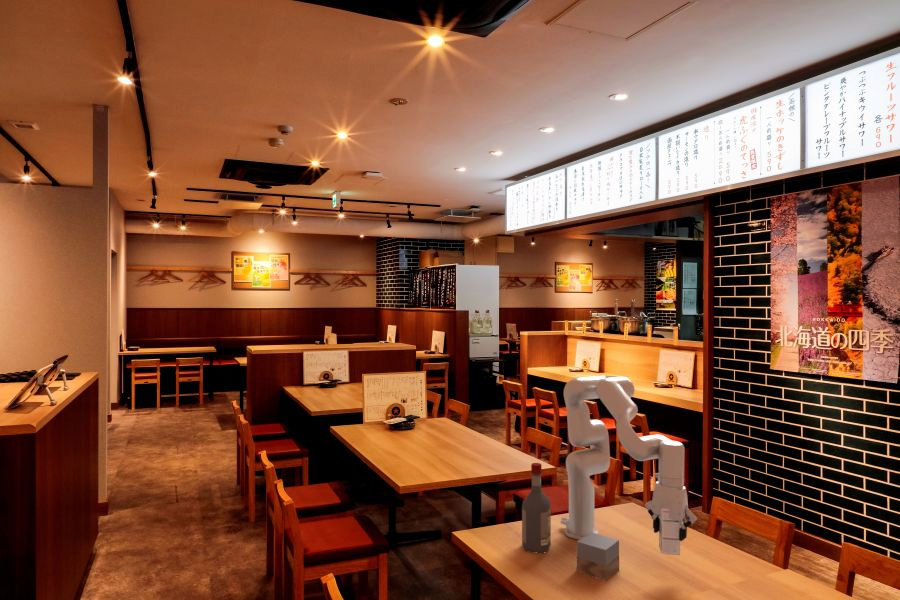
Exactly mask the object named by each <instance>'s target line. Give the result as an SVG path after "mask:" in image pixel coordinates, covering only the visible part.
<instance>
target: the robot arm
mask: <svg viewBox="0 0 900 600" xmlns="http://www.w3.org/2000/svg"><path fill="white" fill-rule="evenodd" d="M634 394H635V386H634V383H633V382H632V380H630V379H629V378H628V377H626V376H620V375H619V376H618V375H617V376H615V375H591V376H579V377H575V378H572V379H570V380H568V382H566V384H565V386H564V388H563V398H564V403H565V407H566V415H567V416H566V418H567V419H566V420H567V434H568V435H567V436H568V441H569V443H570V444H571V446H573V447H576V448H582V447H590V448H586V449H579V450H575V451H572V452H570V453H569V454H568V455H567V457H566V458H565V467H566V471H567V480H568V481H567V482H568V517H565V516H562V517H561V519H560V520H561V521H560V524H561V525H565V528H564V534H565V535H566V536H567V537H569V538H570V539H573V540H577V541H579V540H580V539H582V538H583V537H585V536H586V535H588V534H589V533H591V532H592V533H595V534H599V533H600V532H599V530H598V529H597V528H595V486H594V484H593V482H592V480H591V478H590V477H591V476H593V475H597V474H603V473H605V472H606V471H608V470H609V468H610V464H611V455H610V454H611V453H610V439H609V437H610V436H609V431H608V428H607V425H606V423H604V422H603V421H602V420H599V419H595V418H594V419H591V415H590V407H589V406H588V404H587V403H586V401H587V400H595V399H596V400H597V399H600V401H601V403H602V404H603V405H604V406H605V407H606V409H607V410H608V412H609V413H610V414H611V415H612V417H613V418H614V419H615V420H616V435H617V438H618V440H619V442H620V444H621V445H622V447H623V448H624V449H625V451H626V453H628V455H629V456H630V457H631V458H633V459H634V460H636V461H638V462H644V461H650V460H655V459H656V460H657V459H658V472H657V473H656V472H655V473H654V478H656V479H657V481H656V482H655V484H654V488H653V493H652V500H650V501H647V502H646V503H645V504H644V507H645V509H646V510H647V512H648V514H649V515H650V517H651V519H652V529H653V533H655V534H656V533H659V516H661V508H668V510H670V511H669V518H670V519H673V520H676V521H679V524H680V529H679V540H680V542H682V541H684V540H685V539H687V536H688V534H687V533H688V528H689V527H690V526H691V525H692V524H693V523H694V522H696V521H697V520H698V517H697V516H696V515H695V514H694V513H693V512H692V511H691V510H690V509H689V504H688V493H687V492H688V491H687V488H686V486H684V485H685V484H684V483H685V450H686V449H685V446H684V444H683V443H682V442H680V441H677V440H672V439H670V438H668V437H666V436H664V435H662V434H651V435H643V436H639V435H638V434H637V433H636V432H635V430H634V429H633V427H632V425H631V422H632V420H634V418H635V417H636V416H637V414H638V411H639V410H638V406H637V404H636V403H635V402H634V401H633V400H632V399H631V398H632V397H633V396H634ZM688 517H689V519H686V518H688ZM599 535H600V534H599Z"/></svg>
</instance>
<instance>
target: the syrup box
mask: <svg viewBox="0 0 900 600" xmlns="http://www.w3.org/2000/svg"><path fill="white" fill-rule="evenodd" d="M669 511H670V510H668V508H661V516H659V531H658V533H659V534H658V547H659V550H660V553H661V554H664V555H669V556H670V555H671V556H680V555H681V541H680V540H679V529H680V528H681V526H680V524H679V521H676V520H673V519H670V518H669Z"/></svg>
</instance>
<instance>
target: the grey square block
mask: <svg viewBox="0 0 900 600" xmlns="http://www.w3.org/2000/svg"><path fill="white" fill-rule="evenodd" d="M618 556H619V557H620V540H619V539H616V538H612V537H609V536H605V535H602V534H595V533H592V532H591V533H589V534H588V535H586V536H585V537H583V538H582V539H580V540H577V541H576V558H577V557H579V558H582V559H585V560H589V561H592V562H595V563H598V564H601V565H604V566H606V565H607V564H609V563H610V562H611V561H612V560H614V559H615V558H616V557H618Z"/></svg>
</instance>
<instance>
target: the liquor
mask: <svg viewBox="0 0 900 600" xmlns="http://www.w3.org/2000/svg"><path fill="white" fill-rule="evenodd" d="M530 468H531V473H530V474H531V488H530V492H529V493H528V494H527V496H526V497H525V498H524V499H523V501H522V504H521V546H522V548H524V549H525V551H526V552H527V551H530V552H529V553H533V552H537V553H536V554H539V553H541V554H545V553H544V552H546V553H547V552H548V551H547V550H549V548H550V546H551V545H552V544H551V543H552V540H551V537H552V536H551V535H552V534H551V533H552V532H551V531H552V530H551V529H552V528H551V527H552V526H551V524H552V523H551V520H552V518H551V517H552V515H551V514H552V512H551V507H552V505H551V504H552V503H551V500H550V498H549V497H548V496H547V495H546V494H545V492H544V491H543V488H542V463H539V462H533V463H531V467H530ZM524 549H523V550H524Z"/></svg>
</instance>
